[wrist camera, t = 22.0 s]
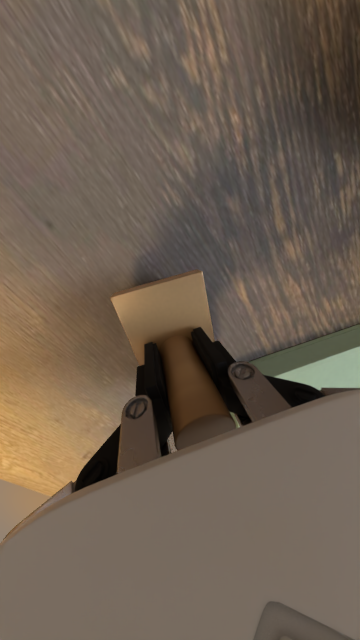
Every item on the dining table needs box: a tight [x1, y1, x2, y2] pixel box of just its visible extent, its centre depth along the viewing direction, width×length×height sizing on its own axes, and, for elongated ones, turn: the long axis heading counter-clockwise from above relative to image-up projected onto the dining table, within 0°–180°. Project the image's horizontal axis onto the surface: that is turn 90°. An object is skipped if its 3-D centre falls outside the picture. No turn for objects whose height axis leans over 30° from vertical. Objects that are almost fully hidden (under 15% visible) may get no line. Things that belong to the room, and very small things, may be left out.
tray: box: [229, 324, 360, 429], centre depth 23 cm, size 26×17×3 cm, turn 104°
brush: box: [110, 270, 236, 451], centre depth 10 cm, size 10×6×9 cm, turn 14°
